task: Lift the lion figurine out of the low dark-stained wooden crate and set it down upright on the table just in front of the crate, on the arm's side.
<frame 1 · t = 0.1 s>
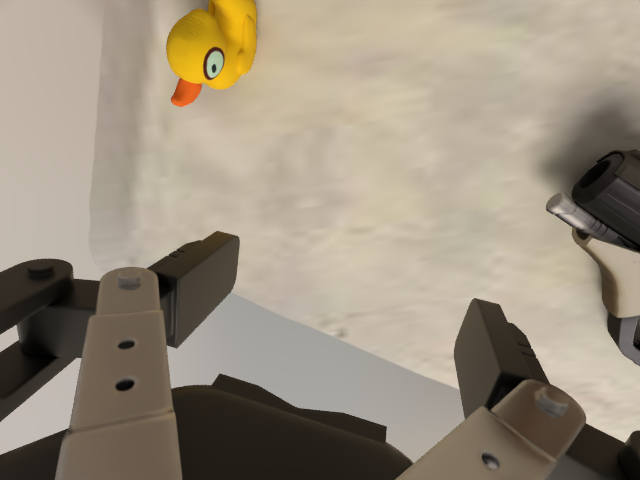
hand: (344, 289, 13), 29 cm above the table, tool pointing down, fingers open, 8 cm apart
duckling: (237, 52, 39), on the table
toy blaster: (637, 268, 38), on the table
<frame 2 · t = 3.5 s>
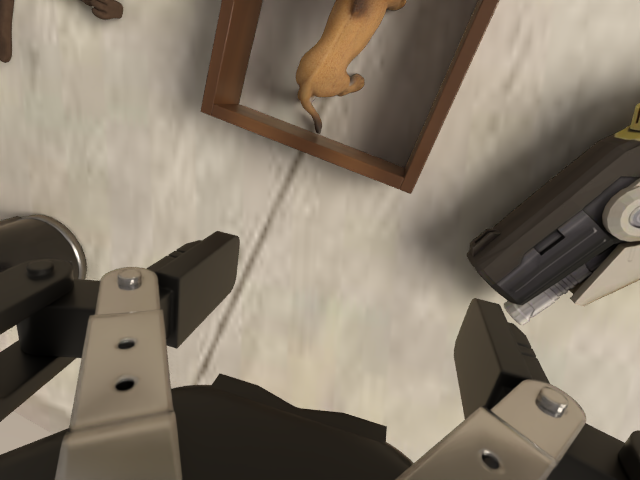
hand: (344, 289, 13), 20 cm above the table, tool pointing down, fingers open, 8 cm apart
crate: (354, 31, 28), on the table
lion figurine: (354, 31, 28), resting in crate
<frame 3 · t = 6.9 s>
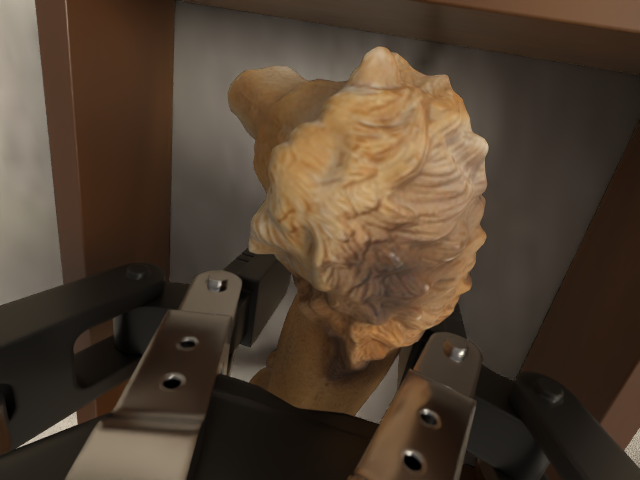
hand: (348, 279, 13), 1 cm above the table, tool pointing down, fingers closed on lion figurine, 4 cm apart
crate: (344, 264, 14), on the table
lion figurine: (344, 262, 15), resting in crate, touching gripper
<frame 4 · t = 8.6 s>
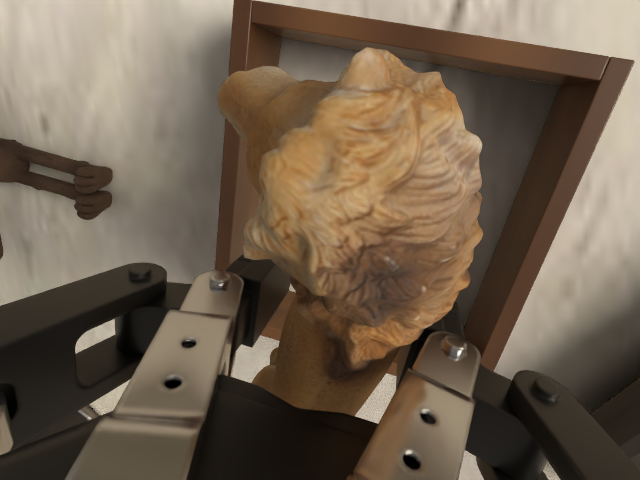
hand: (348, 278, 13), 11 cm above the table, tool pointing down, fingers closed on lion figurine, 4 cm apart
crate: (378, 200, 23), on the table
brown humanoid figurine: (35, 159, 28), on the table
lion figurine: (343, 257, 15), point 9 cm above the table, touching gripper
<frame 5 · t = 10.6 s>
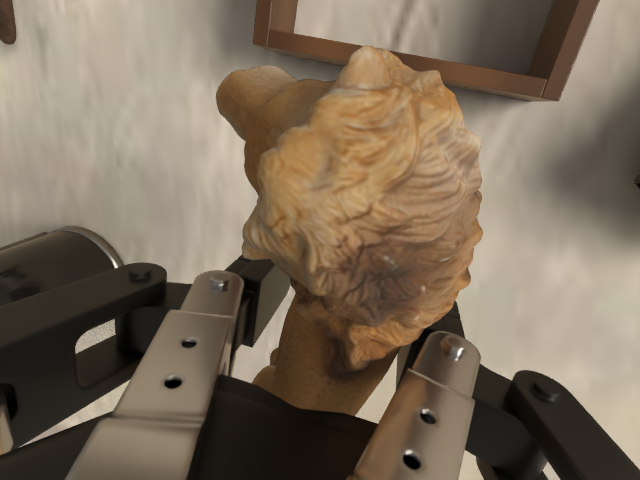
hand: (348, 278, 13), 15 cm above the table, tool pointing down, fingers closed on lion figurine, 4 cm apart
lion figurine: (343, 257, 15), point 14 cm above the table, touching gripper
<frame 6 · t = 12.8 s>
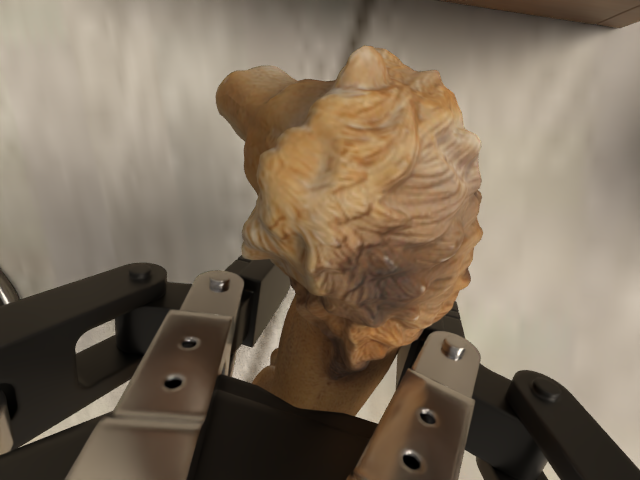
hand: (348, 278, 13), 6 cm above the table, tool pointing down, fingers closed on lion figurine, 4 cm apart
lion figurine: (343, 257, 15), point 4 cm above the table, touching gripper
when the fingers open (1 cm above the table, at t = 14.2 s): lion figurine stays where it is, on the table.
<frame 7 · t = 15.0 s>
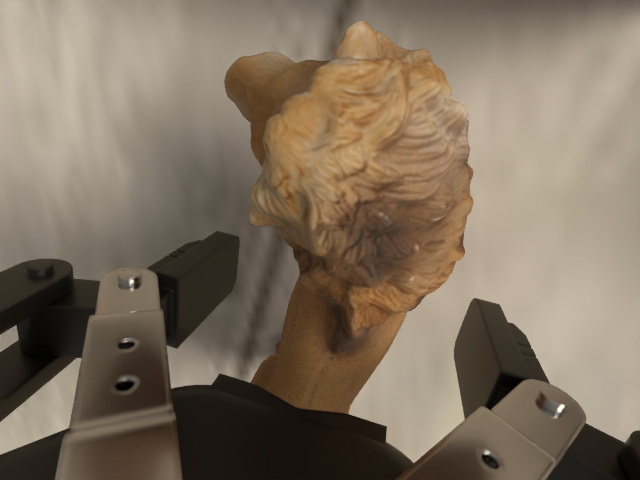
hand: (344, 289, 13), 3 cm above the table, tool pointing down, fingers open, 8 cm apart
lion figurine: (346, 249, 15), on the table
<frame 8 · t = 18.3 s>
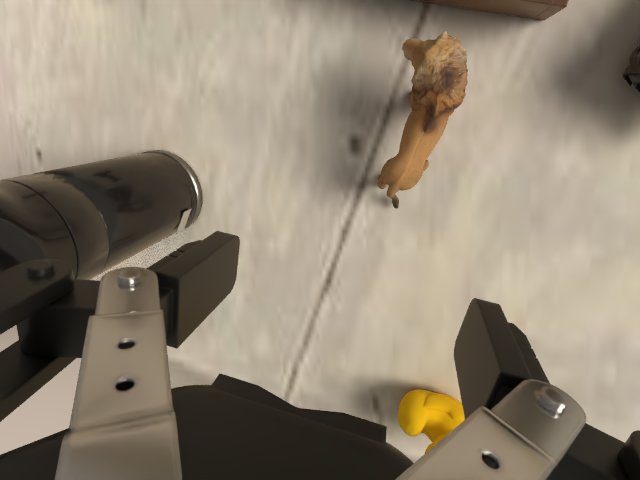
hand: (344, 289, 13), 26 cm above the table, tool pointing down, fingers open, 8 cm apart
duckling: (441, 403, 45), on the table
lion figurine: (414, 126, 35), on the table
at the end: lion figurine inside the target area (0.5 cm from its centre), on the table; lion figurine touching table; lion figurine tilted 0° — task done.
